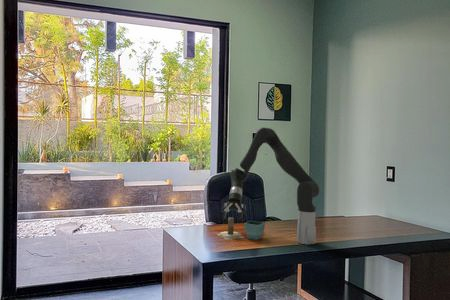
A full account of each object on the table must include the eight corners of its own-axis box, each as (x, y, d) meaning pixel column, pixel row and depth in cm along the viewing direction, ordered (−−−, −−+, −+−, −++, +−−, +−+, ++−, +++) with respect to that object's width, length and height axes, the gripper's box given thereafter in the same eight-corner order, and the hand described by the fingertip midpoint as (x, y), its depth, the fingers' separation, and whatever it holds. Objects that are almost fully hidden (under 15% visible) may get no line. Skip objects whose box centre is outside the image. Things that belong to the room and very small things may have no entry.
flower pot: (243, 239, 210) (244, 223, 210) (250, 236, 218) (250, 220, 218) (258, 241, 206) (258, 225, 206) (264, 238, 214) (265, 222, 214)
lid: (245, 237, 213) (245, 219, 213) (225, 239, 207) (226, 220, 207) (234, 232, 223) (235, 215, 223) (216, 234, 218) (216, 216, 218)
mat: (245, 238, 213) (245, 237, 213) (225, 239, 207) (225, 239, 207) (234, 233, 223) (234, 232, 223) (216, 234, 218) (216, 234, 218)
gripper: (223, 191, 228) (219, 213, 217) (247, 192, 226) (244, 215, 215) (224, 198, 233) (220, 221, 222) (247, 200, 231) (244, 223, 220)
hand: (231, 218), depth 219 cm, fingers open, 8 cm apart
